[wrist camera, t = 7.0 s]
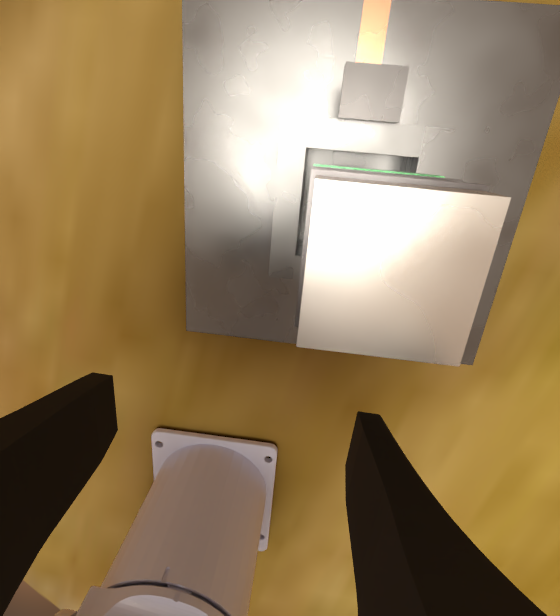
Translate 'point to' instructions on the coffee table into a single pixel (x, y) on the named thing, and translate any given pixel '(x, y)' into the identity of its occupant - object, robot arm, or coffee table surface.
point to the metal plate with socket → (346, 129)
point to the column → (394, 262)
